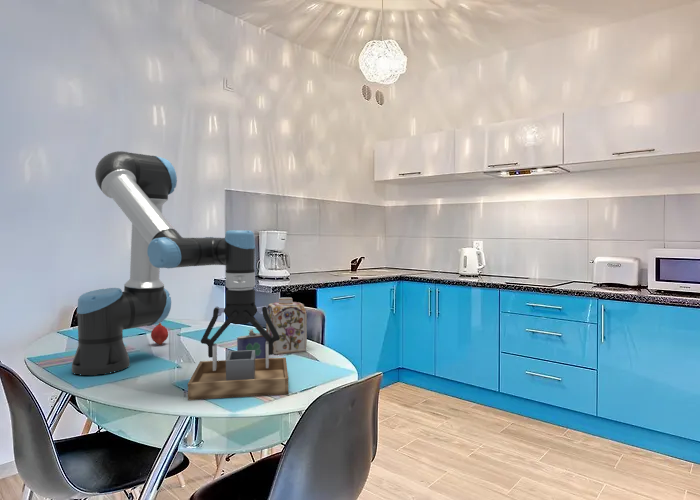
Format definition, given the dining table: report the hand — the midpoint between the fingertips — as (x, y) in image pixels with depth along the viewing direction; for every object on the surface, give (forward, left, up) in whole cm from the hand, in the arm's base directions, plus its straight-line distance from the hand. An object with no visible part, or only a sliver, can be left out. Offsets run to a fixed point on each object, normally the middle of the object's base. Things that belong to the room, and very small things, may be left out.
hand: (241, 368), depth 124 cm
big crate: (0, 0, -4) cm, 4 cm away
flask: (+2, +19, -4) cm, 20 cm away
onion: (-32, +51, -4) cm, 60 cm away
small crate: (0, 0, -4) cm, 4 cm away
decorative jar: (+13, +36, -4) cm, 39 cm away
